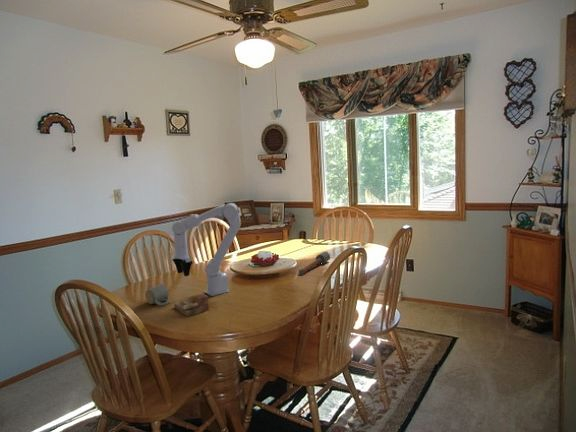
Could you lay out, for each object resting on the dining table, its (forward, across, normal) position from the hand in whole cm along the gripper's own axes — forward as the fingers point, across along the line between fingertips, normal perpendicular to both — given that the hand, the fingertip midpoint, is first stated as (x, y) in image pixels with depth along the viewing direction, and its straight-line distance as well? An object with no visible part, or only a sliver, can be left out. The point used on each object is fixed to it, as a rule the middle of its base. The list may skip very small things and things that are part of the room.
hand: (183, 274), depth 206 cm
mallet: (+10, +8, +74) cm, 75 cm away
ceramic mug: (+10, +3, -14) cm, 17 cm away
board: (+10, +21, -8) cm, 25 cm away
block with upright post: (+10, +25, -6) cm, 28 cm away
